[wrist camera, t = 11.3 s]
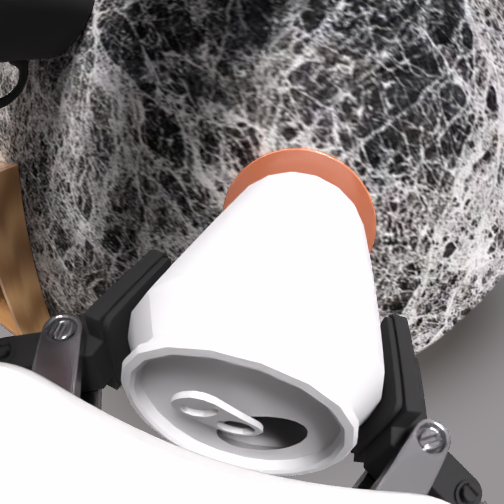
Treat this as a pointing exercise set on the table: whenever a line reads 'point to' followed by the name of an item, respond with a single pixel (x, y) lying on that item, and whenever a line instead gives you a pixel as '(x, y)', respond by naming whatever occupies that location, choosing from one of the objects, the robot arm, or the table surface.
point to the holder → (17, 262)
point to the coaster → (312, 165)
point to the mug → (38, 32)
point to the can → (263, 333)
